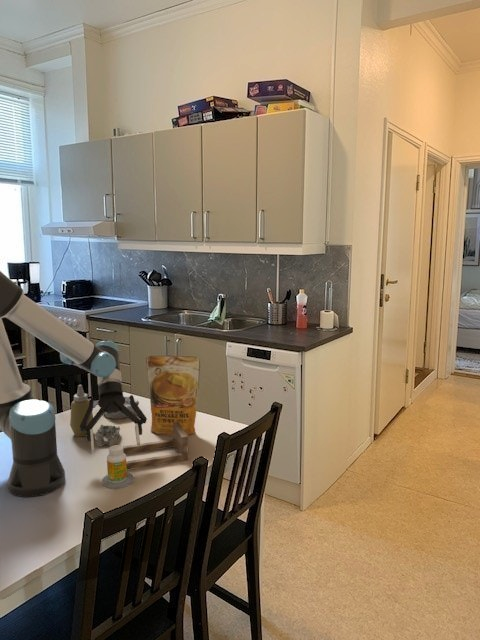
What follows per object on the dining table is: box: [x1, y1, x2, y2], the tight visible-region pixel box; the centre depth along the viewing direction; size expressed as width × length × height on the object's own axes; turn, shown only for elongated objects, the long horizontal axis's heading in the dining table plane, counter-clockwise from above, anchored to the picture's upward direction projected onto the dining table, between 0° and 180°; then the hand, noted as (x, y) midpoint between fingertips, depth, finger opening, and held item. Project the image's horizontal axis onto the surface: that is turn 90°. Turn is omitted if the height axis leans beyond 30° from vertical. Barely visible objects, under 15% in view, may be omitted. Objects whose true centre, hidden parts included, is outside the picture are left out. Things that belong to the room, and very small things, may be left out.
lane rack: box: [122, 422, 189, 470], centre depth 158 cm, size 20×12×8 cm, turn 110°
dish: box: [103, 396, 140, 420], centre depth 195 cm, size 14×14×5 cm
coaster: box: [101, 471, 135, 490], centre depth 143 cm, size 9×9×1 cm
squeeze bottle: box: [69, 384, 94, 437], centre depth 174 cm, size 8×8×18 cm
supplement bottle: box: [106, 444, 128, 483], centre depth 143 cm, size 5×5×10 cm
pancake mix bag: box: [145, 355, 201, 436], centre depth 176 cm, size 7×19×28 cm, turn 85°
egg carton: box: [93, 424, 121, 447], centre depth 171 cm, size 11×8×4 cm
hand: (116, 448), depth 150 cm, fingers open, 13 cm apart
